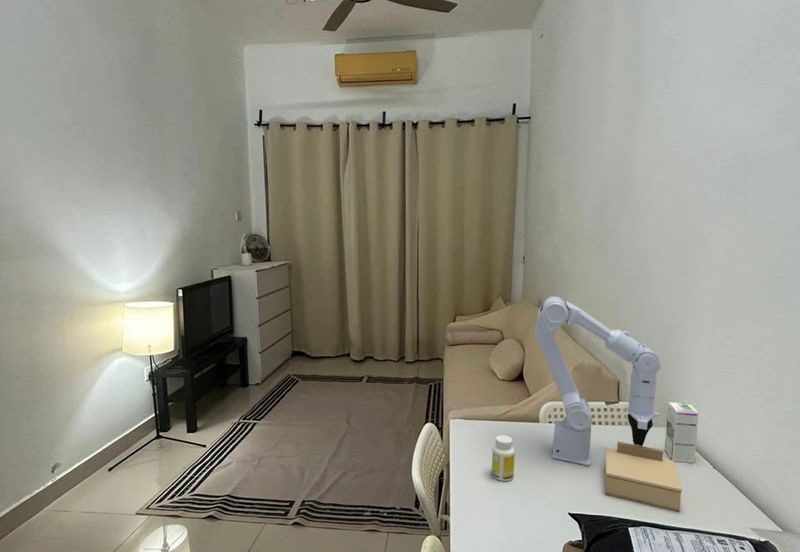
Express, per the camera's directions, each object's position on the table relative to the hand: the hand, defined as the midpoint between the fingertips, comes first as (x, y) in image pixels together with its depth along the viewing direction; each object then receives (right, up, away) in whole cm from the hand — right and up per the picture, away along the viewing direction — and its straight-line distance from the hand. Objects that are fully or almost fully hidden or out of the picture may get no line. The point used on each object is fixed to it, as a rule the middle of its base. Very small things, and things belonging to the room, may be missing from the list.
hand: (637, 444), depth 118 cm
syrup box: (+14, -6, +5) cm, 16 cm away
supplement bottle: (-36, -6, -5) cm, 37 cm away
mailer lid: (-5, -2, -10) cm, 11 cm away
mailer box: (-5, -7, -9) cm, 12 cm away
